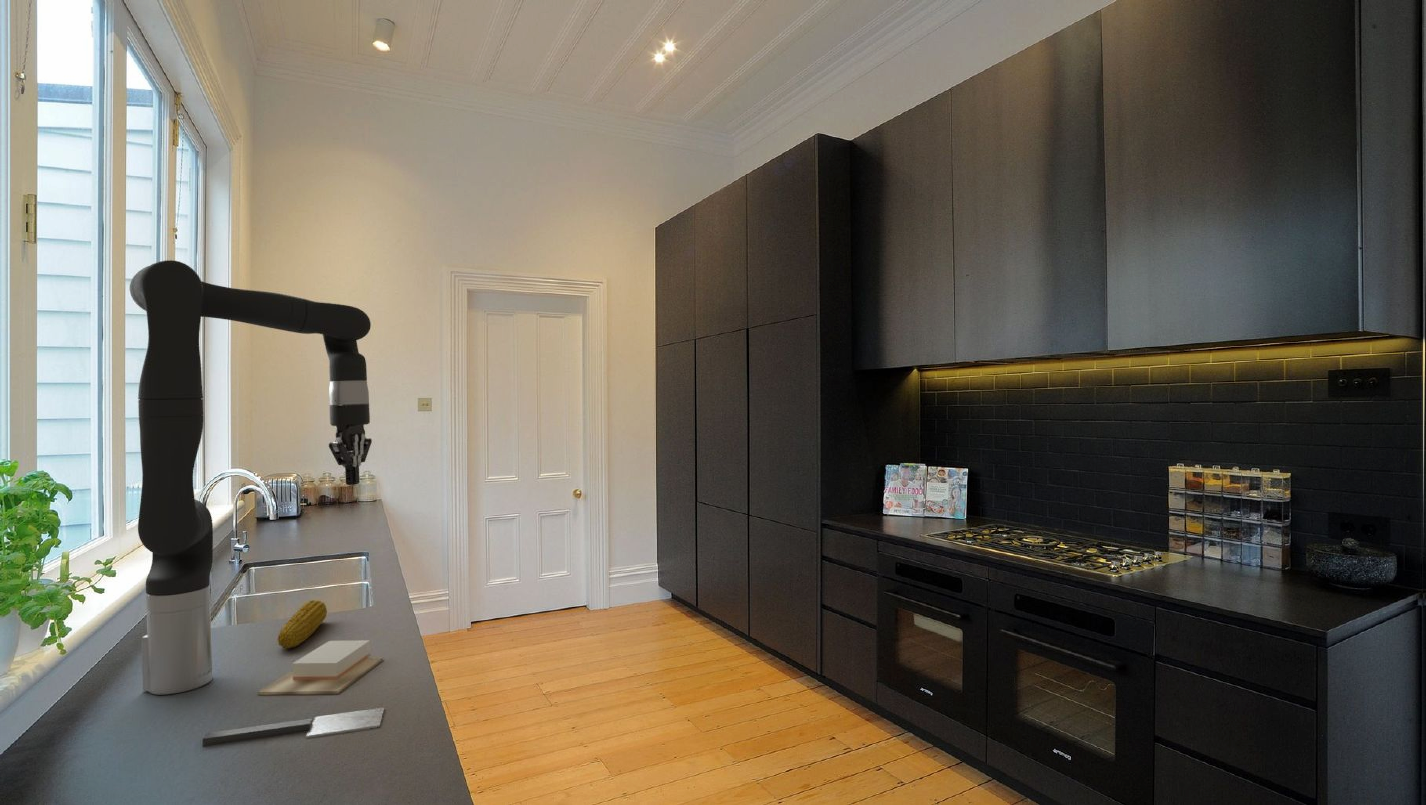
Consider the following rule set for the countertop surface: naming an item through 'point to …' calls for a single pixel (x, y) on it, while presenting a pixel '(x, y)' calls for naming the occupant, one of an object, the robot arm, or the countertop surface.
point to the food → (302, 624)
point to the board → (318, 682)
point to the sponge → (331, 660)
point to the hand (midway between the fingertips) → (352, 484)
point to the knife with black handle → (302, 727)
